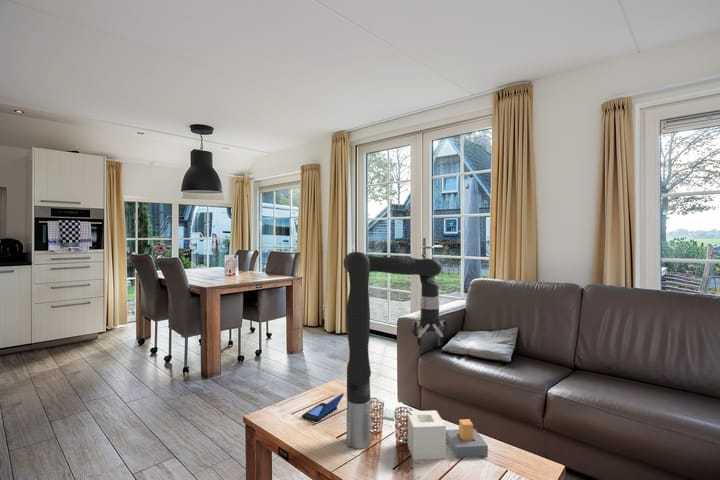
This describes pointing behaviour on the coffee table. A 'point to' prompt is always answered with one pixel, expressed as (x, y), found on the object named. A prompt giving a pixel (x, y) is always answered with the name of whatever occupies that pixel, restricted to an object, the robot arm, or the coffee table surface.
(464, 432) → the plug
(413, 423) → the upper stand
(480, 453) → the lower base
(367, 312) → the robot arm
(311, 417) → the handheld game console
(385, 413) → the hard drive
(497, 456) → the coffee table surface
